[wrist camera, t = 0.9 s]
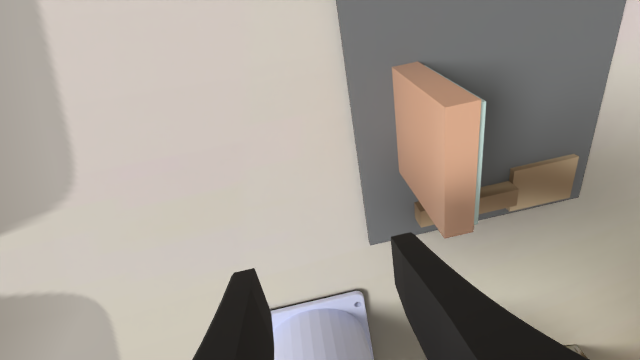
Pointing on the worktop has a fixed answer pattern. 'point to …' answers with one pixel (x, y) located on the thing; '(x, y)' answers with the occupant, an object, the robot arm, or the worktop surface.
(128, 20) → the worktop surface
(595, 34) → the mat
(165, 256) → the worktop surface
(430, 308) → the robot arm
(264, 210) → the worktop surface
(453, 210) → the tile
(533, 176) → the tan stepped block
